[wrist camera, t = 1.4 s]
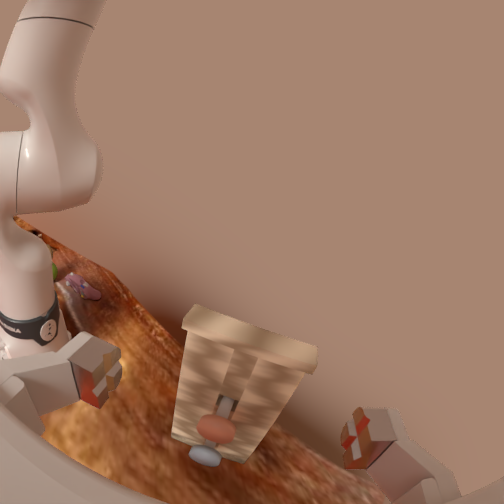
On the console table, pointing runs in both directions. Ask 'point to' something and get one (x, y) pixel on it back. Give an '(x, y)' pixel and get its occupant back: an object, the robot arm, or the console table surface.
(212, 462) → the lower key
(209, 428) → the reddish round knob
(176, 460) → the console table surface
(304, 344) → the beige tall block
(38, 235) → the snail figurine
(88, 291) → the video game controller
